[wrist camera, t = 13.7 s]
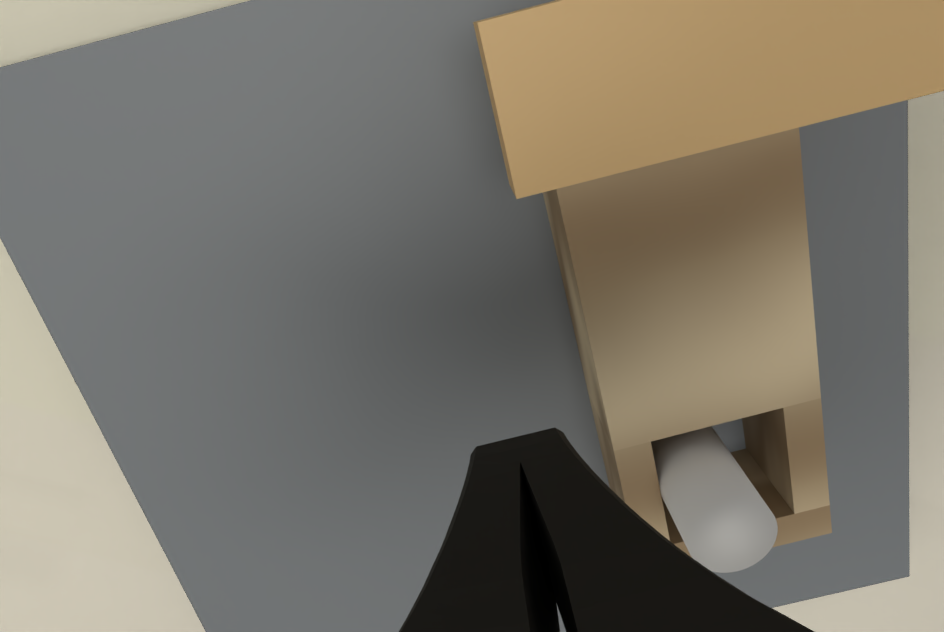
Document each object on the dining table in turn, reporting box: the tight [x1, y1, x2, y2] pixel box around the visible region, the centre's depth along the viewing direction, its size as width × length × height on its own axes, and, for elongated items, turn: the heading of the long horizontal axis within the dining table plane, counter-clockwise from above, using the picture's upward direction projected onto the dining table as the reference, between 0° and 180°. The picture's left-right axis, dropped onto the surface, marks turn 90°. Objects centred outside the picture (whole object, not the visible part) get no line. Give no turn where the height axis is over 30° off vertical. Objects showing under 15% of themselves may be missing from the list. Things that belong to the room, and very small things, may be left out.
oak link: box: [543, 128, 832, 557], centre depth 17 cm, size 14×5×3 cm, turn 15°
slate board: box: [0, 0, 944, 632], centre depth 18 cm, size 22×21×6 cm
